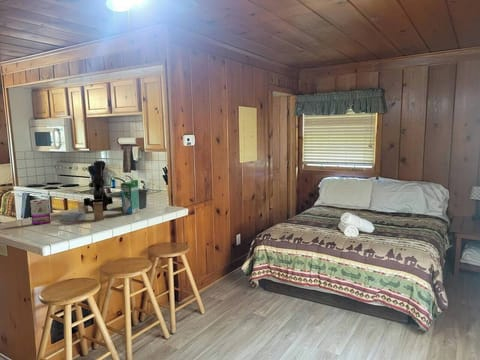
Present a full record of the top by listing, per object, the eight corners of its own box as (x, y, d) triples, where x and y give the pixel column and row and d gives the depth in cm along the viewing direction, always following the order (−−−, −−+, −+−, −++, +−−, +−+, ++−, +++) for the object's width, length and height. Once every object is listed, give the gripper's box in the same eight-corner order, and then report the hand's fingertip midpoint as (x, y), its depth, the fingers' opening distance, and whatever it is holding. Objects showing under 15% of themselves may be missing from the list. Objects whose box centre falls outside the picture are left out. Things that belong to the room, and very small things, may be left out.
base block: (72, 217, 259) (72, 211, 258) (85, 218, 256) (85, 212, 255) (61, 221, 248) (61, 214, 248) (75, 221, 245) (74, 215, 245)
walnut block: (95, 219, 250) (94, 202, 249) (103, 218, 252) (102, 202, 250) (94, 221, 245) (93, 203, 243) (103, 220, 246) (101, 203, 245)
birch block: (84, 211, 277) (83, 201, 276) (88, 212, 275) (87, 202, 274) (78, 213, 273) (77, 202, 272) (82, 213, 271) (82, 203, 270)
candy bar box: (51, 221, 245) (49, 198, 243) (50, 223, 241) (48, 199, 239) (32, 223, 240) (30, 199, 238) (31, 225, 236) (29, 201, 234)
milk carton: (122, 213, 268) (120, 180, 265) (130, 211, 276) (128, 179, 273) (132, 214, 264) (130, 181, 261) (139, 211, 273) (138, 179, 270)
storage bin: (119, 208, 288) (117, 191, 286) (131, 204, 302) (130, 188, 300) (140, 210, 280) (139, 192, 278) (152, 206, 294) (151, 189, 292)
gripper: (82, 186, 246) (82, 205, 237) (111, 185, 252) (111, 203, 243) (85, 196, 255) (84, 214, 246) (112, 194, 260) (112, 212, 251)
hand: (98, 210), depth 246 cm, fingers closed on walnut block, 5 cm apart
